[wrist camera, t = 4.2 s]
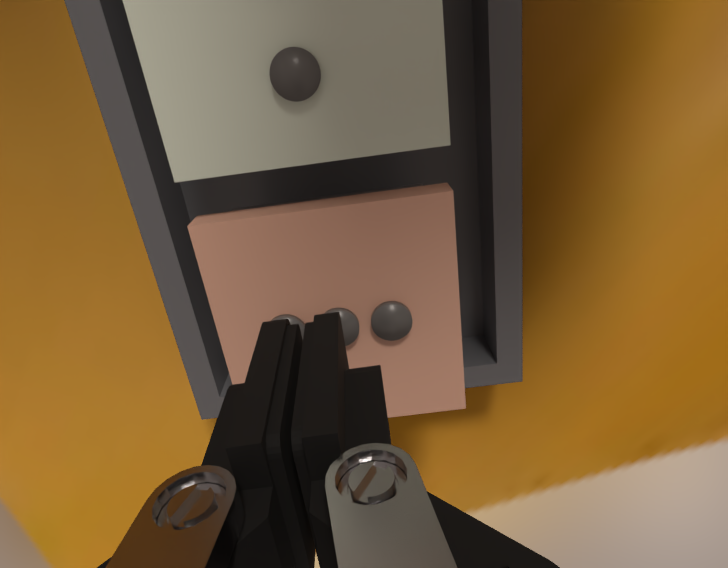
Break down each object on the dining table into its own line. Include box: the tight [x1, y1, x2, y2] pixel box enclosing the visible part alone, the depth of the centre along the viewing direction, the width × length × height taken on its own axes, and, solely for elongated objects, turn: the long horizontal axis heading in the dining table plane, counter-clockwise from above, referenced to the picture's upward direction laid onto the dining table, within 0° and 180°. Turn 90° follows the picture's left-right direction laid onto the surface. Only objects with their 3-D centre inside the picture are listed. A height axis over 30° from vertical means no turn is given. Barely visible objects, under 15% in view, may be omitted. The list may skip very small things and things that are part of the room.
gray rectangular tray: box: [64, 0, 522, 419], centre depth 13 cm, size 11×23×2 cm, turn 8°
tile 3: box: [187, 183, 466, 418], centre depth 14 cm, size 6×6×3 cm
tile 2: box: [123, 0, 451, 182], centre depth 11 cm, size 6×6×3 cm
